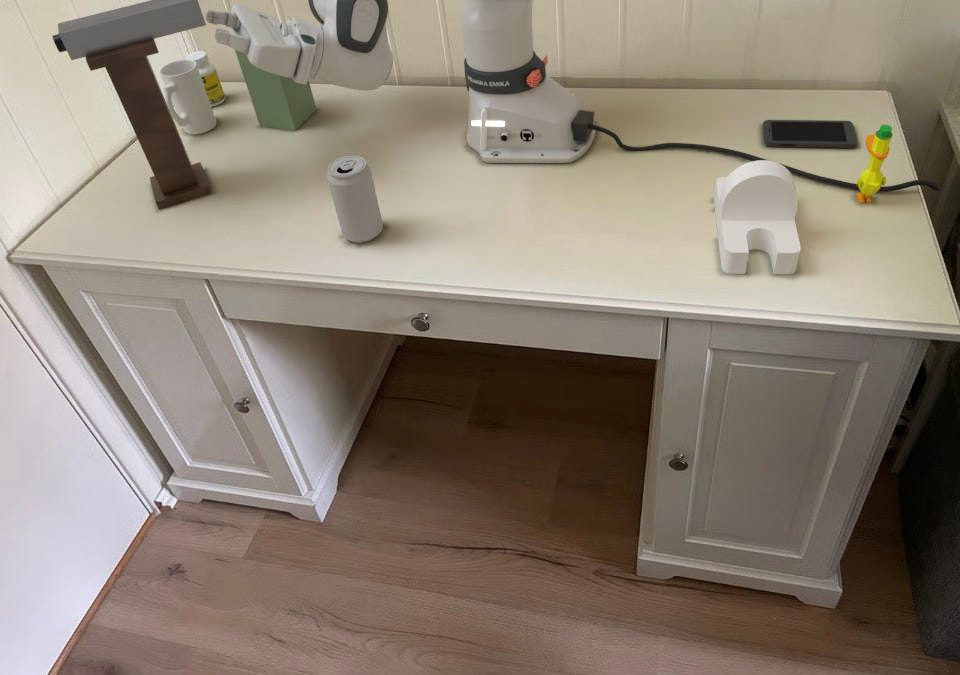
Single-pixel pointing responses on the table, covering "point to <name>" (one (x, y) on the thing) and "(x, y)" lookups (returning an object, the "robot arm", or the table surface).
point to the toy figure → (874, 163)
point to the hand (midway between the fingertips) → (210, 24)
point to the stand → (152, 123)
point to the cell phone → (809, 133)
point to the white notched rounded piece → (757, 216)
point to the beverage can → (355, 198)
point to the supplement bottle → (208, 77)
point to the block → (276, 97)
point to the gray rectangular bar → (127, 26)
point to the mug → (187, 96)
